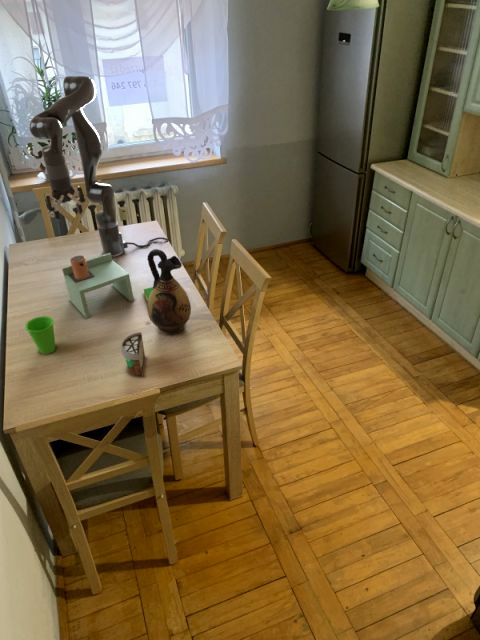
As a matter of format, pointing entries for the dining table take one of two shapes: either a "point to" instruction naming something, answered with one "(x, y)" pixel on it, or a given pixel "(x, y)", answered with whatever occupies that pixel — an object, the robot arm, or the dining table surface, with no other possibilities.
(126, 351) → the food container
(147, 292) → the dish sponge
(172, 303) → the ceramic jug
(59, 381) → the dining table surface
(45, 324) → the cup
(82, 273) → the copper pot
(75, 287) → the shelf
